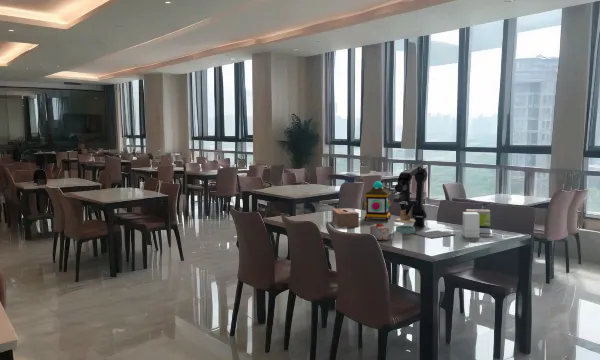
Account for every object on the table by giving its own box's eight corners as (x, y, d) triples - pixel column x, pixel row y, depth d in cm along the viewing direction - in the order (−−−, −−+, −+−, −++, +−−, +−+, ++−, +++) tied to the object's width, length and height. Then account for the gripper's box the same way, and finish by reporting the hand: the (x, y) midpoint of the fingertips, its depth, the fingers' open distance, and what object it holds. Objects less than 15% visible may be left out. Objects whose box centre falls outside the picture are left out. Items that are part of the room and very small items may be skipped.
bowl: (406, 229, 331) (406, 225, 331) (418, 232, 320) (418, 227, 320) (392, 231, 325) (392, 226, 325) (404, 234, 315) (404, 229, 314)
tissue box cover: (358, 227, 343) (358, 213, 342) (338, 227, 342) (338, 213, 341) (351, 221, 369) (351, 208, 368) (332, 221, 367) (332, 208, 366)
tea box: (489, 231, 320) (490, 209, 319) (490, 234, 310) (490, 211, 309) (465, 230, 325) (466, 208, 324) (465, 233, 315) (466, 210, 314)
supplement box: (476, 235, 309) (477, 211, 307) (479, 237, 300) (480, 214, 299) (462, 234, 310) (462, 211, 309) (464, 237, 301) (464, 213, 300)
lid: (406, 218, 331) (406, 208, 330) (419, 221, 319) (419, 210, 319) (391, 220, 325) (391, 209, 324) (404, 223, 313) (404, 212, 313)
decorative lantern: (367, 217, 384) (367, 179, 381) (392, 218, 378) (392, 180, 375) (362, 221, 365) (362, 182, 362) (389, 222, 359) (389, 182, 356)
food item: (390, 240, 296) (390, 224, 295) (379, 241, 293) (379, 225, 292) (378, 236, 309) (378, 221, 308) (368, 237, 305) (368, 222, 305)
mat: (437, 231, 323) (437, 230, 323) (455, 235, 308) (455, 234, 308) (414, 234, 313) (414, 233, 313) (431, 238, 299) (431, 237, 299)
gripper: (387, 190, 325) (386, 213, 326) (405, 193, 308) (405, 217, 310) (400, 189, 330) (400, 212, 331) (418, 191, 314) (418, 215, 315)
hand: (405, 214), depth 322 cm, fingers closed on lid, 3 cm apart
